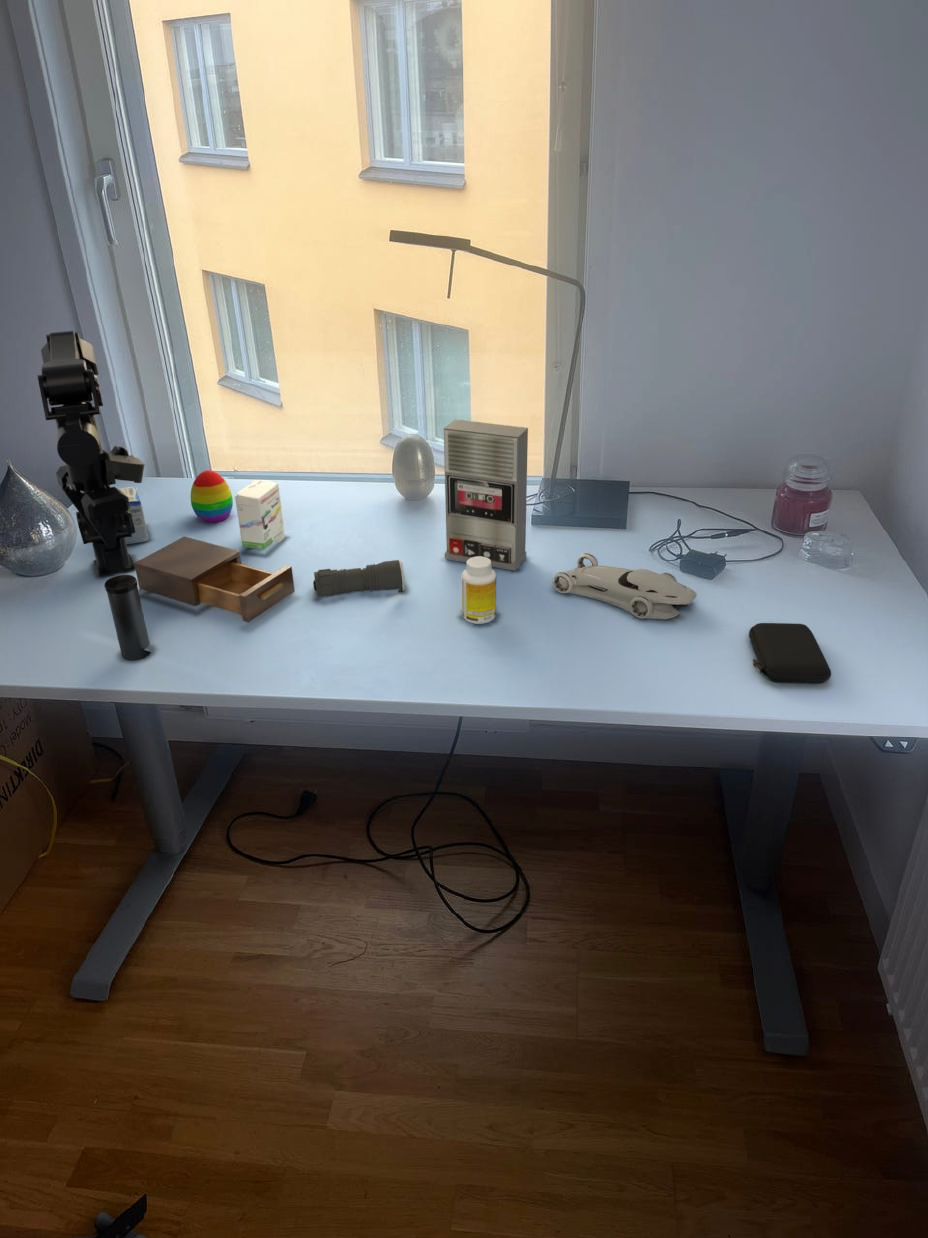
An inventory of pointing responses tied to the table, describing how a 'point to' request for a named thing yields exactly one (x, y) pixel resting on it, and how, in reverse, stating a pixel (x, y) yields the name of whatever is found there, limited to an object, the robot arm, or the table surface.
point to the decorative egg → (211, 497)
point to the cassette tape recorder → (486, 492)
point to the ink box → (260, 514)
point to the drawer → (245, 589)
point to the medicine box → (136, 516)
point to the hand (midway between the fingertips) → (103, 537)
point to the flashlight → (360, 579)
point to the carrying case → (788, 653)
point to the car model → (626, 588)
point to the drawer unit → (181, 568)
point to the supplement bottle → (479, 591)
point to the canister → (128, 616)
